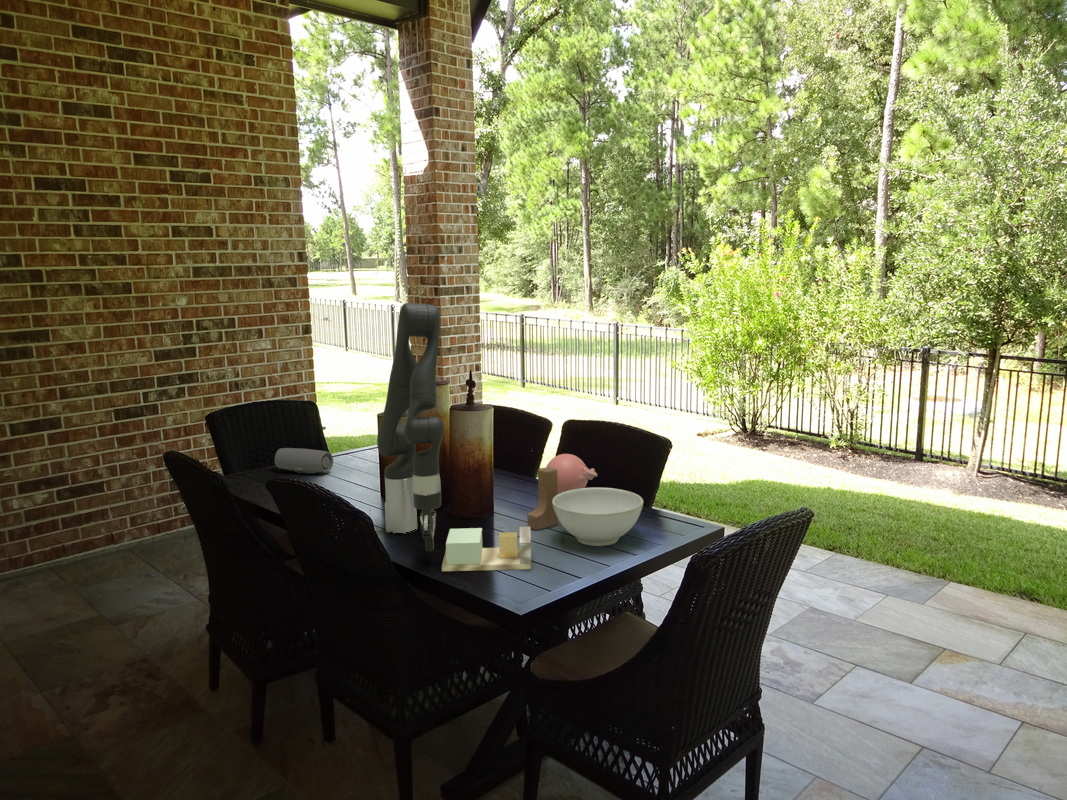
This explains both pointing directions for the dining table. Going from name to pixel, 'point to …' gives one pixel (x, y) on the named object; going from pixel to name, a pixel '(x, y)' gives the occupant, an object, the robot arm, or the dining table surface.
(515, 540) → the brass block
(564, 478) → the balloon
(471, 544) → the block
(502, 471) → the dining table surface
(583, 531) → the decorative bowl
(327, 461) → the bluetooth speaker
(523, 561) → the vise
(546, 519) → the wooden block
